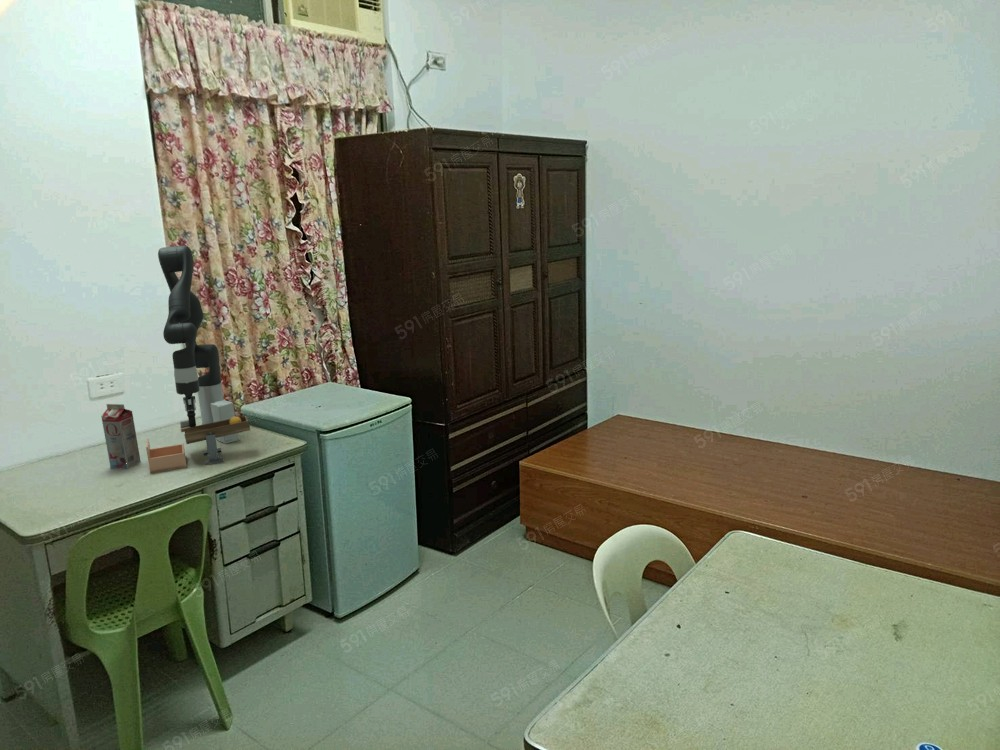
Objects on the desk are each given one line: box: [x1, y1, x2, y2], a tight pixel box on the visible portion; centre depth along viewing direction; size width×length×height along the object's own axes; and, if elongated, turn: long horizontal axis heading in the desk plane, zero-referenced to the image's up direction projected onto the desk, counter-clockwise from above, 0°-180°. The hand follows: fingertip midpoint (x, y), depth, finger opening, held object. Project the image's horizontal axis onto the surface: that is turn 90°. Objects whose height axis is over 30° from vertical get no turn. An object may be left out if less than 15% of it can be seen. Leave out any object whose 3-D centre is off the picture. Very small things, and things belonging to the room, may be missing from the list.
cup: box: [145, 438, 187, 474], centre depth 241 cm, size 11×11×9 cm
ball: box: [229, 416, 241, 424], centre depth 248 cm, size 4×4×4 cm
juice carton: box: [101, 403, 142, 470], centre depth 241 cm, size 7×7×22 cm
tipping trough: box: [179, 415, 251, 445], centre depth 250 cm, size 18×22×4 cm
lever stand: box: [202, 433, 225, 466], centre depth 246 cm, size 14×6×10 cm, turn 25°
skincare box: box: [210, 399, 240, 444], centre depth 264 cm, size 8×6×15 cm
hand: (192, 423), depth 250 cm, fingers open, 8 cm apart
